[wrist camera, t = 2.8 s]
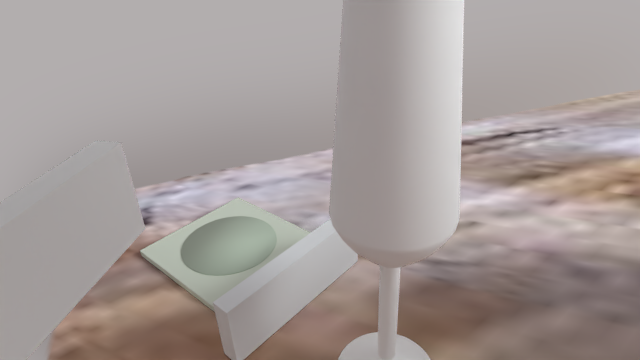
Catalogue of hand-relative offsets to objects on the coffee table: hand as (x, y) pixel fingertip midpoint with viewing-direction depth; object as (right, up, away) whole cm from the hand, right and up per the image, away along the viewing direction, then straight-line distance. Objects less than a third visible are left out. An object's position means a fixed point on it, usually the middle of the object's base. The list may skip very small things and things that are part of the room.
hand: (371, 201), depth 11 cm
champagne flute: (+3, -13, +18) cm, 23 cm away
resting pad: (-10, -6, +31) cm, 33 cm away
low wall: (-3, -9, +24) cm, 26 cm away
